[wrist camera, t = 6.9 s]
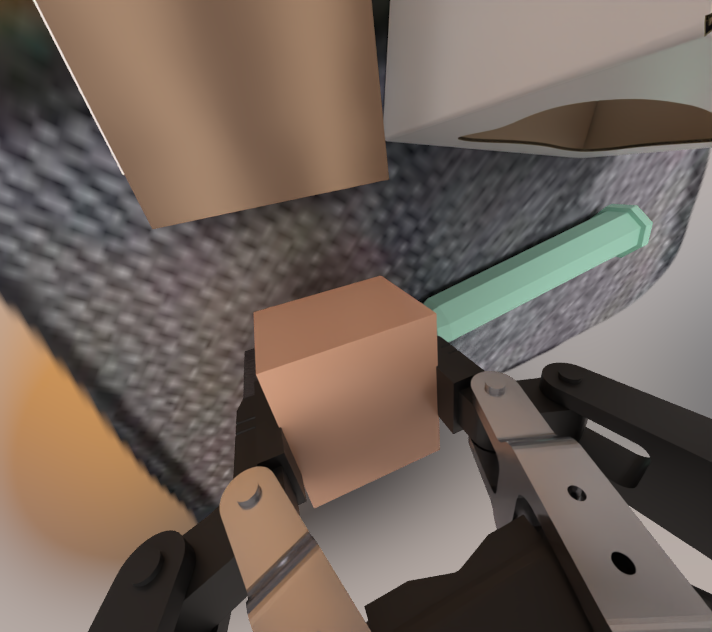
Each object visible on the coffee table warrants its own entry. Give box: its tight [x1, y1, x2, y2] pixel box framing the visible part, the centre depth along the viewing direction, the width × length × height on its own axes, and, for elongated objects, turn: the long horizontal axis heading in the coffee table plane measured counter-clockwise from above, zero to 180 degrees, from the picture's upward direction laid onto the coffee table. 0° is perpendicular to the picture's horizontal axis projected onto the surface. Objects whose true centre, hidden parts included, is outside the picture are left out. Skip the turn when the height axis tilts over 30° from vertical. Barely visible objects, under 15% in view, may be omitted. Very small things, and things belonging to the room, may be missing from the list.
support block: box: [254, 276, 440, 508], centre depth 10 cm, size 5×6×4 cm
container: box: [423, 204, 653, 342], centre depth 29 cm, size 6×6×25 cm
